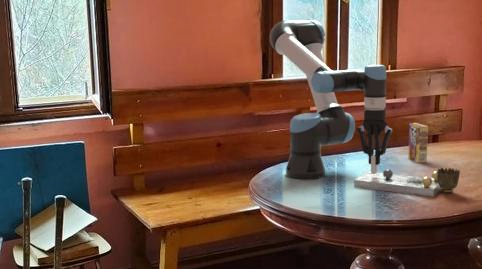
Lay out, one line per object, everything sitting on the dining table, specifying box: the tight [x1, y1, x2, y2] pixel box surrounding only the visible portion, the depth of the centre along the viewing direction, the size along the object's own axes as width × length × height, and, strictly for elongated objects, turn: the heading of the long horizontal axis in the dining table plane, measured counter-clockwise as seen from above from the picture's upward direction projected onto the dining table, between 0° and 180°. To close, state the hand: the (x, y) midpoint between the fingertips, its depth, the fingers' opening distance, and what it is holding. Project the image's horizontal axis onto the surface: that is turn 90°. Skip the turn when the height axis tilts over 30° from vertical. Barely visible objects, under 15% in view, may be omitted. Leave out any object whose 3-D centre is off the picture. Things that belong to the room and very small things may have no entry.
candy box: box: [407, 122, 429, 164], centre depth 260 cm, size 9×4×15 cm, turn 13°
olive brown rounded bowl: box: [436, 167, 461, 195], centre depth 213 cm, size 8×7×8 cm
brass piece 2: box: [430, 170, 438, 181], centre depth 220 cm, size 3×3×3 cm
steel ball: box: [382, 169, 394, 179], centre depth 224 cm, size 3×3×3 cm
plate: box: [353, 170, 443, 198], centre depth 222 cm, size 28×14×2 cm, turn 59°
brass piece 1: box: [422, 176, 432, 187], centre depth 212 cm, size 3×3×3 cm
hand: (374, 173), depth 226 cm, fingers closed
